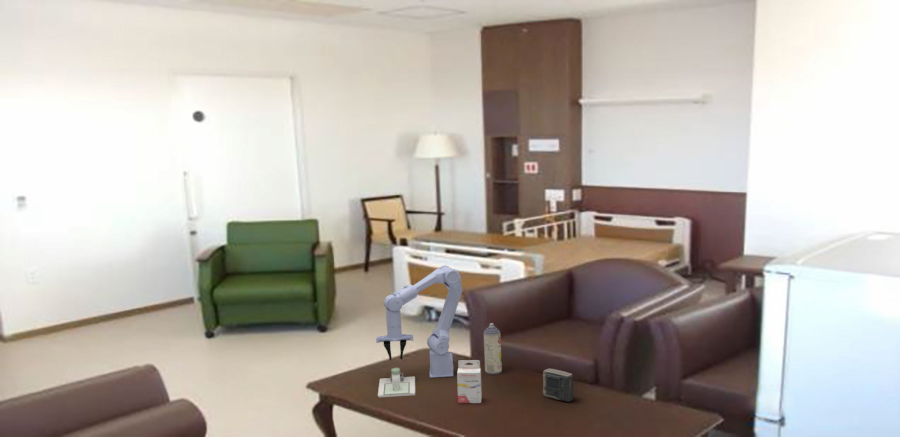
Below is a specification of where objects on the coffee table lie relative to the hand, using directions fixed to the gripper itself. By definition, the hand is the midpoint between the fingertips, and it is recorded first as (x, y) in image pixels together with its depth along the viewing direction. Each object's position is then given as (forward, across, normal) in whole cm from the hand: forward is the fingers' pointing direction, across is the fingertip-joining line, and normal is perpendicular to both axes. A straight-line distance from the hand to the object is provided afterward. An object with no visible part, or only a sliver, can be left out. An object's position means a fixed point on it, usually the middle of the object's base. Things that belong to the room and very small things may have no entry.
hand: (396, 358), depth 283 cm
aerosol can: (+10, +39, +4) cm, 40 cm away
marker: (+8, 0, -11) cm, 14 cm away
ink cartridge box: (+10, +27, -24) cm, 38 cm away
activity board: (+9, 0, -6) cm, 11 cm away
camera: (+10, +59, -28) cm, 66 cm away
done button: (+8, 0, 0) cm, 8 cm away
